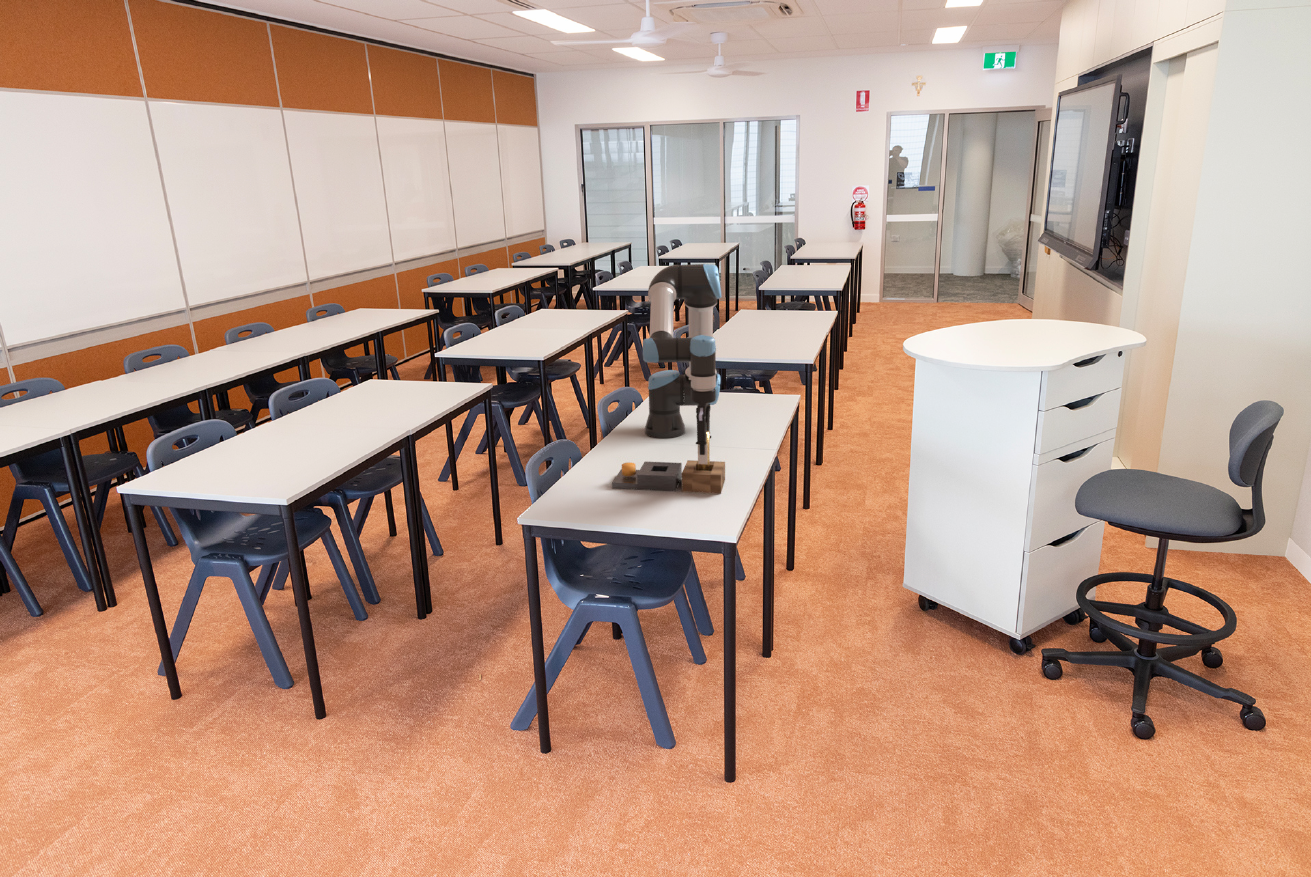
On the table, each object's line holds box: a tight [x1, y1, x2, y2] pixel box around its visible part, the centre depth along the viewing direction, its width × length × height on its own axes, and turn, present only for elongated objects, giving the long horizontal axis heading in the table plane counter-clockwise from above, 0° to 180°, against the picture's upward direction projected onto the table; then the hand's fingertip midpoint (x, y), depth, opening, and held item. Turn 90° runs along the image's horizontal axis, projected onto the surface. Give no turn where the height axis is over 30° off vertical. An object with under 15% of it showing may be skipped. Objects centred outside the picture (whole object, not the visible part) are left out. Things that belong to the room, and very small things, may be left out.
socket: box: [611, 461, 683, 492], centre depth 251 cm, size 12×20×5 cm, turn 79°
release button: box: [621, 461, 637, 476], centre depth 252 cm, size 4×4×3 cm
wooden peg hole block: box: [681, 459, 726, 495], centre depth 247 cm, size 12×12×6 cm
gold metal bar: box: [698, 431, 711, 471], centre depth 245 cm, size 4×4×16 cm
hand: (703, 461), depth 246 cm, fingers closed on gold metal bar, 3 cm apart
